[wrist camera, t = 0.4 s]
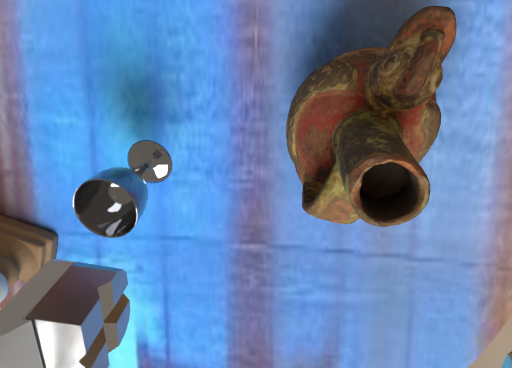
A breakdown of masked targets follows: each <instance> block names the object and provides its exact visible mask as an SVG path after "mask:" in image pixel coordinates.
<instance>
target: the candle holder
mask: <svg viewBox="0 0 512 368" xmlns="http://www.w3.org/2000/svg"><path fill="white" fill-rule="evenodd" d="M57 245H58V235H57V234H55V233H53V232H50V231H48V230H45V229H42V228H39V227H36V226H33V225H30V224H27V223H25V222H22V221H19V220H16V219H13V218H10V217H7V216H4V215H0V303H1V302H2V301H3V300H4V299H5V298H6V296H7V294H8V290H9V287H10V286H12V285H13V284H15V283H16V282H17V280H20V281H23V282H28V281H29V280H30V279H31V278H32V277H33V276H34V275H35V274H36V273H37V272H38V271H39V270H40V269H41V268H42V267H43V266H44V265H45V264H46V263H47V262H48V261H51V260H54V259H56V253H57Z"/></svg>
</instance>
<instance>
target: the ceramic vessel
mask: <svg viewBox="0 0 512 368" xmlns="http://www.w3.org/2000/svg"><path fill="white" fill-rule="evenodd" d="M455 37H456V18H455V13H454V12H453V10H452V9H450V8H449V7H442V6H429V7H426V8H423V9H422V10H420V11H419V12H417V13H416V14H414V15H413V16H412V17H411V18H410V19H409V20H407V21H406V22H405V23H404V25H403V26H402V27H401V29H400V30H399V31H398V33H397V35H396V36H395V38H394V39H393V41H392V43H391V44H390V46H389V47H388V48H383V47H370V48H361V49H357V50H353V51H349V52H347V53H344V54H342V55H339V56H337V57H336V58H334V59H333V60H331V61H330V62H328V63H326V64H324V65H322V66H320V67H319V68H318V69H316V70H315V71H314V72H313V73H312V74H311V75H309V77H308V78H307V79H306V80H305V81H304V82H303V84H302V85H301V86H300V88H299V89H298V90H297V93H296V95H295V97H294V99H293V101H292V103H291V106H290V110H289V114H288V119H287V124H286V137H287V146H288V151H289V154H290V158H291V159H292V161H293V163H294V164H295V168H296V171H297V174H298V176H299V178H300V181H301V183H302V185H303V192H302V207H303V209H304V211H305V212H307V213H308V214H309V215H312V216H314V217H317V218H320V219H324V220H327V221H331V222H335V223H341V224H351V223H353V222H355V221H356V220H358V219H359V218H361V219H362V220H364V221H365V222H367V223H369V224H371V225H375V226H381V227H387V226H392V225H398V224H401V223H404V222H407V221H409V220H412V219H413V218H414V217H416V216H417V215H418V214H419V213H421V211H422V210H423V209H424V208H425V206H426V205H427V203H428V201H429V196H430V183H429V180H428V178H427V175H426V174H425V172H424V171H423V169H422V168H421V166H420V165H419V164H418V163H419V162H420V161H421V160H422V158H423V157H424V156H425V155H426V153H427V152H428V150H429V149H430V147H431V146H432V144H433V143H434V141H435V139H436V137H437V134H438V131H439V128H440V124H441V112H440V109H439V106H438V104H437V103H436V92H435V91H436V90H437V88H438V87H439V86H440V83H441V80H442V78H443V73H442V67H441V64H442V62H443V61H444V59H445V57H446V56H447V54H448V52H449V51H450V49H451V47H452V45H453V43H454V40H455Z"/></svg>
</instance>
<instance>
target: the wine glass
mask: <svg viewBox="0 0 512 368" xmlns="http://www.w3.org/2000/svg"><path fill="white" fill-rule="evenodd" d="M128 165H129V167H130V169H128V168H125V167H113V168H109V169H106V170H103V171H101V172H99V173H97V174H95V175H93V176H92V177H90V178H89V179H88V180H86V181H85V182H84V183H83V184H81V185H80V187H79V188H78V189H77V190H76V192H75V194H74V197H73V208H74V211H75V213H76V216H77V217H78V219H79V220H80V222H81V223H82V224H83V225H84V226H85V227H86V228H87V229H89V230H90V231H92V232H93V233H96V234H98V235H100V236H104V237H111V238H115V237H121V236H124V235H126V234H127V233H129V232H130V231H131V230H132V229H133V228H134V226H135V225H136V224H137V222H138V221H139V220H140V218H141V216H142V214H143V212H144V210H145V207H146V204H147V200H148V189H147V185H146V183H145V182H148V183H159V182H162V181H164V180H165V179H166V178H167V177H168V176H169V175H170V173H171V170H172V160H171V157H170V155H169V153H168V152H167V151H166V150H165V149H164V148H163V147H162V146H161V145H159V144H157V143H155V142H152V141H140V142H138V143H136V144H134V145H133V146H132V147H131V148H130V150H129V152H128Z"/></svg>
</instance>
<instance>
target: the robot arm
mask: <svg viewBox="0 0 512 368" xmlns="http://www.w3.org/2000/svg"><path fill="white" fill-rule="evenodd" d="M127 285H128V282H127V274H126V272H125V271H124V270H123V269H118V268H112V267H105V266H99V265H93V264H87V263H81V262H77V263H76V262H71V261H65V260H59V259H54V260H51V261H48V262H47V263H46V264H45V265H44V266H43V267H42V268H41V269H40V270H39V271H38V272H37V273H36V274H35V275H34V276H33V277H32V278H31V279H30V280H29V281H28V282H27V283H26V284H25V285H24V286H23V287H22V288H21V289H20V290H19V292H18V293H17V294H16V295H15V296H14V297H13V298H12V299H11V300H10V301H9V302H8V303H7V304H6V305H5V306H4V307H3V308H2V309H1V310H0V368H107V367H108V366H109V360H108V353H109V352H110V351H112V350H113V349H115V348H116V347H118V346H119V345H120V343H121V341H122V339H123V337H124V335H125V332H126V328H127V325H128V322H129V315H130V302H129V299H128V298H127V297H126V296H125V295H124V294H123V292H124V290H125V288H126V287H127ZM502 368H512V352H510V353H508V354H507V356H506V358H505V360H504V363H503V365H502Z"/></svg>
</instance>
